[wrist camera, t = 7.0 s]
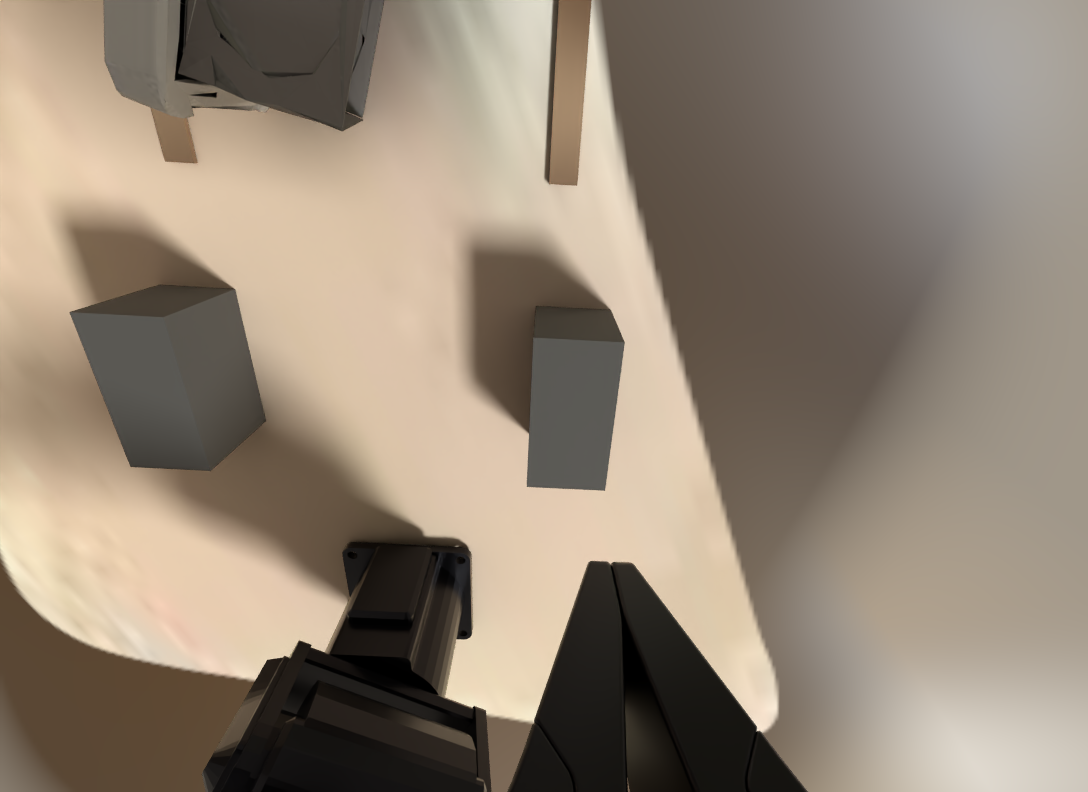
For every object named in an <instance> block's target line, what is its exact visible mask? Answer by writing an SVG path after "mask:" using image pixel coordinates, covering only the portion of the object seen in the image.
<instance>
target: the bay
mask: <svg viewBox="0 0 1088 792" xmlns="http://www.w3.org/2000/svg"><path fill="white" fill-rule="evenodd" d="M590 12H591V0H559V5H558V24H557V43H556V62H555V81H554V100H553V119H552V138H551V157H550V176H549V184H559V185H576V186H577V181H578V168H579V155H580V142H581V129H582V116H583V103H584V90H585V77H586V64H587V51H588V38H589V25H590ZM151 110H152V114H153V118H154V121H155V125H156V129H157V133H158V136H159V140H160V144H161V148H162V151H163V155H164V159H165V161H166V162H183V163H198V162H197V158H196V154H195V150H194V146H193V141H192V137H191V133H190V129H189V125H188V121H187V118H179V117H174V116H170V115H168V114H166V113H163V112H161V111H158V110H156V109H153V108H151Z"/></svg>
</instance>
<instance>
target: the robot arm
mask: <svg viewBox="0 0 1088 792" xmlns="http://www.w3.org/2000/svg"><path fill="white" fill-rule="evenodd" d="M353 552H355V553H353ZM459 557H463V558H459ZM343 561H344V566H345V572H346V577H347V583H348V589H349V594H350V599H349V601H348V603H347V605H346V608H345V610H344V612H343V614H342V616H341V618H340V621H339V623H338V625H337V627H336V629H335V631H334V634H333V636H332V638H331V640H330V642H329V644H328V647H327V649H326V651H325V652H322V651H319V650H317V649H314V648H311V645H310V644H308V643H305V642H303V641H300V640H299V641H298V643H297V645H296V647H295V648H294V650H293V652H292V653H291V655H290V657H286V656H284V657H283V658H277V659H270V660H267V661H266V663H265V665H264V667H263V668H262V670H261V672H260V674H259V675H258V677H257V679H256V681H255V682H254V684H253V686H252V688H251V690H250V691H249V693H248V695H247V697H246V698H245V700H244V702H243V703H242V705H241V707H240V708H239V710H238V712H237V714H236V715H235V717H234V719H233V721H232V722H231V724H230V726H229V727H228V729H227V731H226V733H225V735H224V736H223V738H222V740H221V741H220V743H219V745H218V746H217V748H216V750H215V752H214V753H213V755H212V757H211V759H210V760H209V762H208V764H207V766H206V767H205V769H204V771H203V773H202V776H203V781H204V785H205V791H206V792H491V779H490V764H489V751H488V735H487V720H486V710H484V709H481V708H478V707H476V706H474V707H473V708H472V707H469V706H466V705H464V704H461V703H458V702H456V701H453V700H450V699H448V698H445V694H446V689H447V684H448V679H449V674H450V669H451V664H452V659H453V654H454V649H455V644H456V639H468V638H470V637H471V635H472V630H473V609H472V556H471V552H470V551H469V550H468V549H466V548H463V547H445V546H424V545H403V544H382V543H361V542H351V543H348V544H347V545H346V547H345V549H344V551H343ZM756 731H757V726H756V725H755V723H754V722H753V721H752V719H751V718H750V717H749V716H748V714H747V713H746V712H745V710H744V709H743V708H742V706H741V705H740V704H739V702H738V701H737V700H736V698H735V697H734V696H733V694H732V693H731V692H730V690H729V689H728V688H727V687H726V685H725V684H724V683H723V681H722V680H721V679H720V677H719V676H718V675H717V673H716V672H715V671H714V669H713V668H712V667H711V665H710V664H709V663H708V661H707V660H706V659H705V658H704V656H703V655H702V654H701V652H700V651H699V650H698V648H697V647H696V646H695V644H694V643H693V642H692V640H691V639H690V638H689V636H688V635H687V634H686V632H685V631H684V630H683V629H682V627H681V626H680V625H679V623H678V622H677V621H676V619H675V618H674V617H673V615H672V614H671V613H670V611H669V610H668V609H667V607H666V606H665V605H664V603H663V602H662V601H661V600H660V598H659V597H658V596H657V594H656V593H655V592H654V590H653V589H652V588H651V586H650V585H649V584H648V582H647V581H646V580H645V578H644V577H643V576H642V574H641V573H640V572H639V571H638V569H637V568H636V567H635V565H634V564H632V563H630V562H613V563H611V565H610V563H609V562H604V561H590V562H589V563H588V565H587V568H586V571H585V574H584V576H583V579H582V582H581V585H580V588H579V591H578V594H577V597H576V600H575V603H574V606H573V609H572V611H571V614H570V617H569V620H568V623H567V626H566V629H565V632H564V635H563V638H562V641H561V644H560V646H559V649H558V652H557V655H556V658H555V661H554V664H553V667H552V670H551V673H550V676H549V679H548V681H547V684H546V687H545V690H544V693H543V696H542V699H541V702H540V705H539V708H538V711H537V714H536V717H535V719H534V724H533V725H532V728H531V730H530V733H529V736H528V739H527V742H526V745H525V748H524V750H523V753H522V756H521V758H520V761H519V764H518V766H517V769H516V772H515V774H514V777H513V780H512V782H511V784H510V787H509V789H508V791H507V792H628V787H627V786H628V784H627V778H628V783H629V789H630V792H808V791H807V790H806V789H805V788H804V786H803V785H802V784H801V783H800V781H798V779H797V778H796V776H795V775H794V774H793V773H792V771H791V770H790V769H789V768H788V766H787V765H786V764H785V763H784V761H783V760H782V759H781V757H780V756H779V755H778V754H777V752H776V751H775V750H774V748H773V747H772V746H771V744H770V743H769V742H768V740H767V739H766V738H765V736H764V735H763V734H762V732H760V731H757V732H756Z"/></svg>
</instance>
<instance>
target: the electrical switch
mask: <svg viewBox="0 0 1088 792" xmlns="http://www.w3.org/2000/svg"><path fill="white" fill-rule="evenodd" d="M383 4H384V0H104V46H105V63H106V65H107V68H108V70H109V73H110V75H111V77H112V80H113V82H114V85H115V87H116V89H117V91H118V92H119V93H120V94H121V95H122V96H124V97H126V98H128V99H131V100H133V101H136V102H138V103H141V104H143V105H146V106H148V107H151V108H153V109H156V110H158V111H161V112H163V113H166V114H168V115H170V116H174V117H179V118H188V117H191V116H194V114H193V110H192V108H200V107H203V108H220V109H236V110H258V111H260V112H266V111H267V110H268V108H272V109H276V110H279V111H282V112H286V113H289V114H292V115H296V116H299V117H303V118H306V119H309V120H313V121H316V122H320V123H322V124H325V125H327V126H330V127H333V128H335V129H338V130H340V131H344V130H345V129H347V128H349V127H351V126H353V125H355V124H357V123H359V122H361V121H363V120H362V119H360V118H358V117H356V116H353V115H351V114H349V113H352V114H355V115H357V116H360V117H362V116H363V113H364V108H365V102H366V97H367V92H368V86H369V81H370V75H371V70H372V64H373V59H374V53H375V48H376V42H377V37H378V31H379V26H380V20H381V15H382V9H383ZM362 34H363V36H364V38H365V41H364V44H363V47H362ZM347 112H349V113H347Z"/></svg>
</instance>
